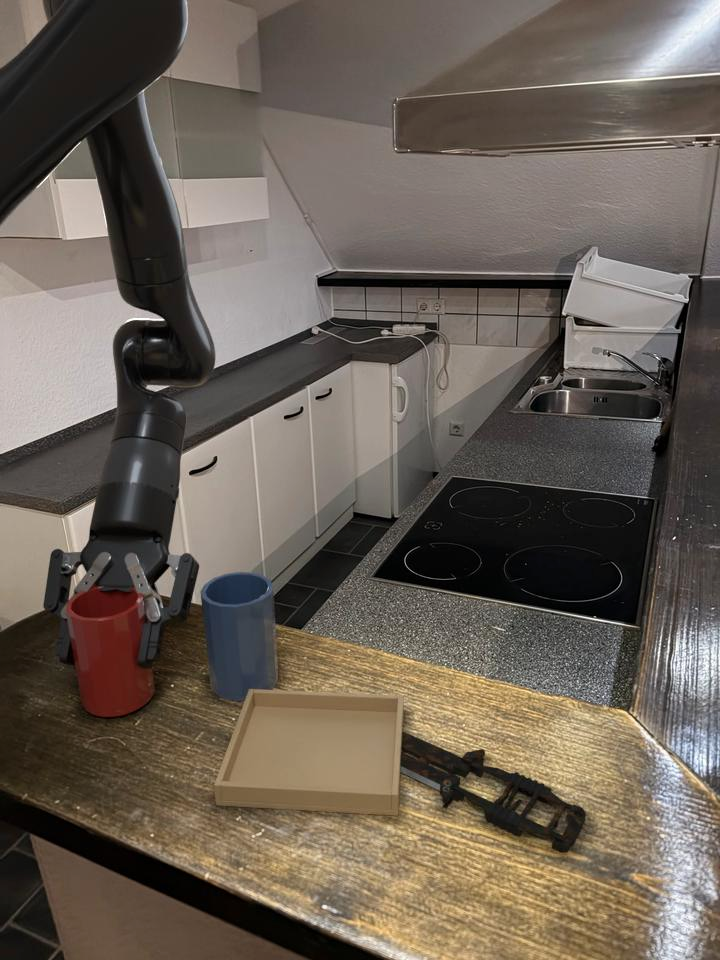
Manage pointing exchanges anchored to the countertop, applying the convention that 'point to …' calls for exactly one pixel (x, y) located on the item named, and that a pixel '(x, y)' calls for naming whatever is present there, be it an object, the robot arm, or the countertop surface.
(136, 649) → the red spoon cup
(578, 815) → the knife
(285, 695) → the tray
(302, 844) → the countertop surface
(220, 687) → the blue spoon cup
